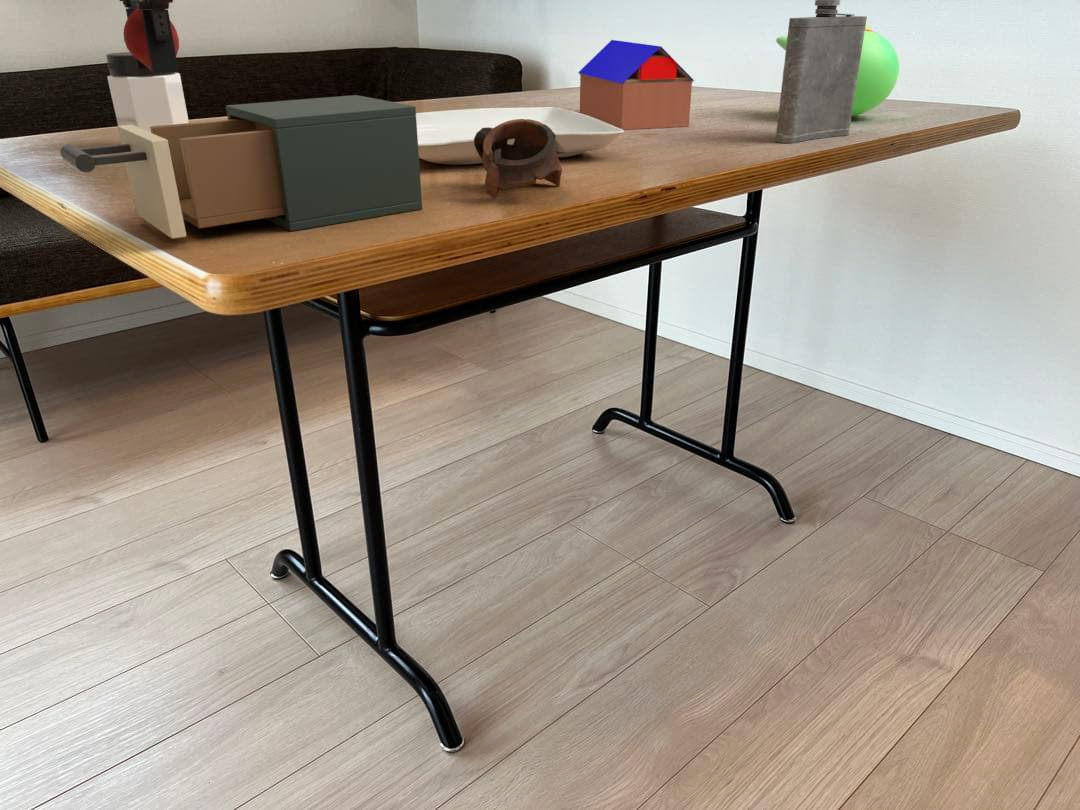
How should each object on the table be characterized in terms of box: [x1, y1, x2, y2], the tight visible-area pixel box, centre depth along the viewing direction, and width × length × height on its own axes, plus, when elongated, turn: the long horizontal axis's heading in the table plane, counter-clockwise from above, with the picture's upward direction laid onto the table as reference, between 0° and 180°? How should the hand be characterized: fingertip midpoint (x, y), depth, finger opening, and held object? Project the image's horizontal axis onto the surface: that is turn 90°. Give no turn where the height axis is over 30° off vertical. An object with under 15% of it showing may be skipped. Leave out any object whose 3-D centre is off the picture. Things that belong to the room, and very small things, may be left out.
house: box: [577, 39, 695, 131], centre depth 135 cm, size 12×20×12 cm, turn 17°
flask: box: [774, 0, 868, 144], centre depth 116 cm, size 4×14×18 cm, turn 124°
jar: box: [106, 51, 190, 133], centre depth 112 cm, size 9×8×12 cm
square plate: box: [416, 106, 625, 166], centre depth 111 cm, size 27×27×4 cm
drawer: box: [59, 118, 285, 240], centre depth 73 cm, size 18×11×8 cm, turn 128°
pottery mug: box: [474, 119, 565, 200], centre depth 88 cm, size 12×10×8 cm
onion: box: [123, 0, 180, 71], centre depth 96 cm, size 6×6×8 cm
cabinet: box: [225, 94, 423, 232], centre depth 80 cm, size 14×12×10 cm
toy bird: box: [775, 24, 900, 117], centre depth 136 cm, size 18×17×15 cm
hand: (157, 69), depth 98 cm, fingers closed on onion, 6 cm apart
